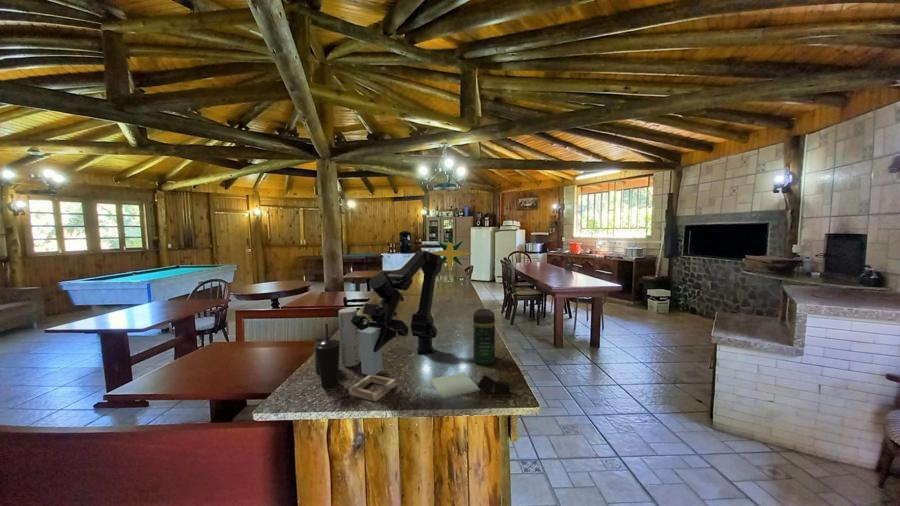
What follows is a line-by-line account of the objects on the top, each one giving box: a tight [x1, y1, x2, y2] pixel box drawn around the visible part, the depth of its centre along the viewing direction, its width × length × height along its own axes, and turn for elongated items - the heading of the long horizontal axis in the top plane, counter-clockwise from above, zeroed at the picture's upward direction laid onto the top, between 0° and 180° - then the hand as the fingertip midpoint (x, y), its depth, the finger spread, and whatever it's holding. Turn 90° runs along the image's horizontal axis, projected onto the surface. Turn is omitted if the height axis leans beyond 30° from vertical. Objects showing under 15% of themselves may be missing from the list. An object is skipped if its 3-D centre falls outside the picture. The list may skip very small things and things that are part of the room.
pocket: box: [348, 374, 397, 402], centre depth 102 cm, size 10×10×2 cm
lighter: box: [476, 372, 511, 395], centre depth 99 cm, size 9×2×6 cm
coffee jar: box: [472, 308, 496, 366], centre depth 121 cm, size 10×8×19 cm
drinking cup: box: [314, 323, 341, 390], centre depth 105 cm, size 8×8×20 cm
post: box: [359, 327, 383, 376], centre depth 100 cm, size 4×4×13 cm
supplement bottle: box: [313, 334, 332, 374], centre depth 116 cm, size 7×7×12 cm
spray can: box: [338, 307, 360, 368], centre depth 121 cm, size 6×6×20 cm
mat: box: [429, 372, 481, 400], centre depth 103 cm, size 12×12×1 cm
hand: (368, 350), depth 99 cm, fingers closed on post, 4 cm apart
